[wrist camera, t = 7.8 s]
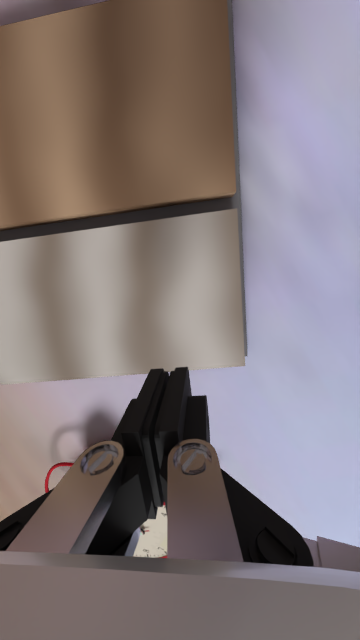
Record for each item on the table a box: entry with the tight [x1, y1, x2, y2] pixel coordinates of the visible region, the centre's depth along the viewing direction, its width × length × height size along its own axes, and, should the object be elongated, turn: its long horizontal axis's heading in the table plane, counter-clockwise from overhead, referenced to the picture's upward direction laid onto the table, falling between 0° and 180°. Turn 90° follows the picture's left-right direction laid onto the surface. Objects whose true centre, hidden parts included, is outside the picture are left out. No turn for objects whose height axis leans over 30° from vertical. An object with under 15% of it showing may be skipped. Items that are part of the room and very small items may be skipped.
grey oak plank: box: [0, 208, 245, 385], centre depth 17 cm, size 24×10×2 cm, turn 97°
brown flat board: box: [0, 0, 247, 356], centre depth 16 cm, size 25×21×1 cm
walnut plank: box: [0, 0, 236, 231], centre depth 14 cm, size 24×9×2 cm, turn 97°
